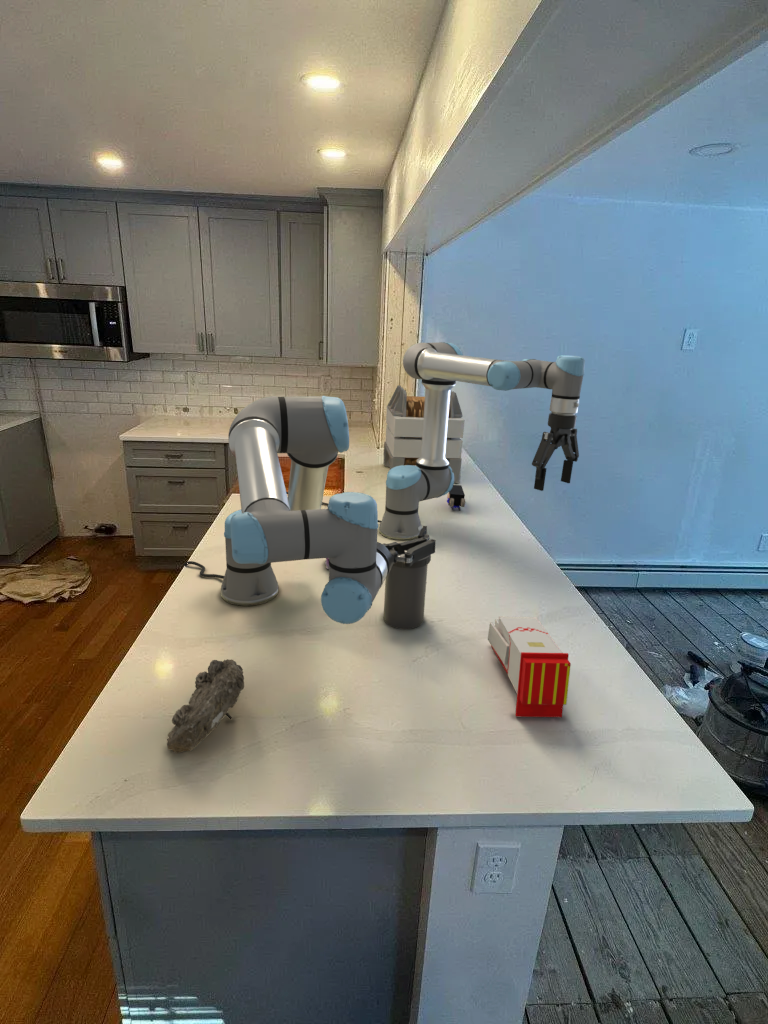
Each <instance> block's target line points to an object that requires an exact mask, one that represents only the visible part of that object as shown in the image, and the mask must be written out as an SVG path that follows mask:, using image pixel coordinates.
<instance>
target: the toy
mask: <svg viewBox="0 0 768 1024" xmlns="http://www.w3.org/2000/svg"><path fill="white" fill-rule="evenodd" d="M488 625H489V627H488V633H487V641H488V642H489V644H490V646H491V647H490V648H491V649H492V650H493V652H494V654H495V656H496V658H497V659H498V660H499V662H500V664H501V666H502V668H503V669H504V671H505V673H506V674H507V676H508V678H509V680H510V682H511V685H512V686H513V689H514V690H515V693H516V704H515V717H516V718H517V717H518V718H519V717H520V718H521V717H522V718H563V710H564V705H567V701H568V692H569V685H570V684H569V683H570V676H571V675H570V674H571V666H572V664H571V661H570V660H569V655H570V654H569V653H568V652H563V651H562V649H561V648H560V647H559V646H558V644H557V643H556V642H555V640H554V639H553V638H552V636H551V635H550V634H549V632H548V631H547V629H546V628H545V627H544V626H543V624H542V622H541V621H540V620H539V619H538V618H537V616H498V618H496V619H494V623H493V622H489V624H488Z"/></svg>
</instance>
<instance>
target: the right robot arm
mask: <svg viewBox="0 0 768 1024" xmlns="http://www.w3.org/2000/svg"><path fill="white" fill-rule="evenodd" d="M585 365H586V360H585V358H584V357H582V356H578V355H566V354H565V355H564V354H563V355H558V356H557V357H556V360H555V361H549V360H541V359H536V358H524V359H521V360H506V359H505V360H504V359H503V360H502V359H496V358H487V357H479V356H471V355H464V354H463V352H462V350H461V349H460V347H459V346H457V345H456V344H455V343H451V342H445V341H443V342H442V341H441V342H440V341H439V342H438V341H437V342H417V343H414V344H412V345H411V346H409V347H408V348H407V350H406V351H405V353H404V355H403V358H402V366H403V369H404V372H405V373H406V374H407V375H408V376H409V377H411V378H412V379H415V380H421V385H422V386H423V387H424V389H425V392H424V397H425V404H424V419H423V434H422V449H421V457H420V458H418V459H417V461H416V466H413V465H401V466H396V467H394V468H392V469H390V468H389V470H388V472H387V474H386V479H385V504H384V505H385V507H384V508H385V509H384V513H383V515H382V519H381V520H379V519H378V523H379V525H378V533H379V534H380V535H381V536H382V537H385V538H387V539H389V540H395V541H411V540H415V539H418V535H419V533H420V531H421V529H422V527H423V525H422V524H421V518H420V515H419V507H420V506H419V505H420V502H423V501H427V500H431V499H437V498H440V497H443V496H446V495H448V493H449V491H450V490H451V489H452V487H453V485H455V483H454V473H452V469H451V467H450V466H449V462H448V461H447V459H446V458H445V453H446V441H447V428H448V416H449V404H450V392H451V391H452V389H453V388H454V387H455V386H456V384H457V382H461V383H465V384H473V385H479V386H487V387H491V388H492V389H494V390H496V391H503V392H504V391H511V390H520V389H532V388H533V389H534V388H539V389H546V390H551V398H550V404H549V413H548V418H547V419H548V420H547V426H548V427H549V428H550V431H549V432H548V431H543V432H542V435H541V440H540V442H539V445H538V447H537V449H536V452H535V454H534V457H533V460H532V461H531V466H533V467H535V475H534V477H535V478H534V485H533V489H534V490H537V491H539V492H543V491H544V489H545V484H546V483H545V482H546V476H547V468H546V466H547V465H548V463H549V461H550V459H551V457H552V456H553V454H554V453H555V451H556V450H557V449H558V448H560V447H561V449H562V452H563V455H564V458H565V459H563V463H562V468H561V469H562V470H561V475H560V482H562V483H566V484H571V478H572V472H573V466H574V463H576V462H578V461H579V457H580V453H579V444H578V428H576V423H577V419H578V416H577V414H578V412H579V411H578V410H579V406H580V397H581V391H582V385H583V380H584V376H585ZM286 493H287V495H288V491H286ZM328 504H329V502H328V503H327V502H324V501H322V505H325V506H328Z"/></svg>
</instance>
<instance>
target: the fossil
mask: <svg viewBox="0 0 768 1024" xmlns="http://www.w3.org/2000/svg"><path fill="white" fill-rule="evenodd" d="M243 670H244V669H243V667H242V665H240V664H237V662H236V661H235V660H234V659H232V658H231V659H227V658H226V659H224V660H223V661H222V660H217V659H212V660H211V661H210V663H209V665H208V666H207V671H201V672H199V673H198V674H197V675H196V676H195V680H194V684H195V685H194V687H195V689H194V690H193V693H192V694H191V697H190V698H189V700H188V704H184V705H182V706H181V707H180V709H177V710H176V711H175V713H174V715H173V716H172V718H171V723H172V724H173V727H172V730H171V731H170V732H168V734H167V738H166V741H167V742H166V745H167V749H168V750H169V751H173V752H174V753H176V754H178V753H182V752H188V751H189V752H192V751H193V750H195V748H196V747H197V746H199V744H200V743H201V742H203V741H204V740H205V739H206V738H207V737H208V736H209V735H210V734H211V733H212V732H214V730H215V729H217V727H218V726H219V724H220V722H221V721H222V720H223V719H224V718H225V716H226V717H227V719H229V720H233V717H232V715H230V714H229V710H230V709H231V708H234V706H235V704H236V703H237V702H238V699H239V697H240V695H241V693H242V691H243V690H245V689H244V688H245V675H244V671H243Z"/></svg>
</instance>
